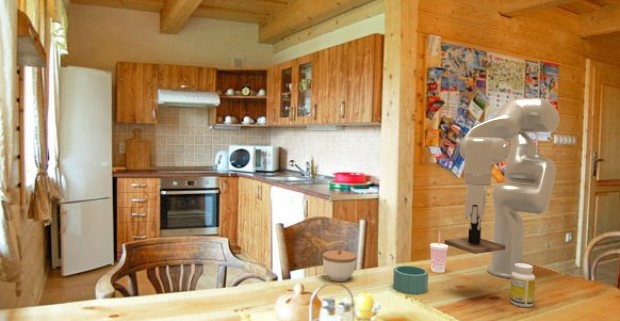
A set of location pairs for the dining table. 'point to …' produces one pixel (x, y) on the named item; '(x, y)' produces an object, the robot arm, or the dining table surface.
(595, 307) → the dining table surface
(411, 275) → the bowl
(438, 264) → the beverage cup
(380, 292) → the dining table surface
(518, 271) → the pill bottle
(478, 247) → the lid
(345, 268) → the lidded jar
